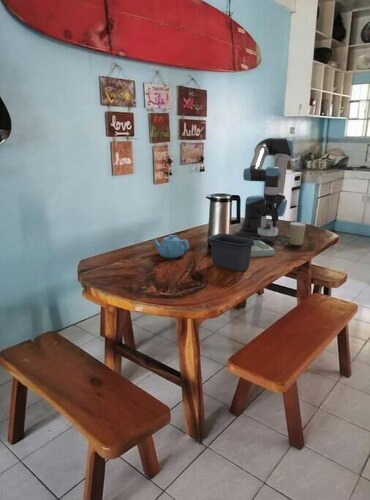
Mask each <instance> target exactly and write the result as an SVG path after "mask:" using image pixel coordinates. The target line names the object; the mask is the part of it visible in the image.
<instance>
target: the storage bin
mask: <svg viewBox="0 0 370 500" xmlns="http://www.w3.org/2000/svg"><path fill="white" fill-rule="evenodd" d="M254 241H255V239H254V238H249V237H243V236H239V235H235V234H231V233H223V232H221V233H216V234H213V235H209V236H208V242H209V243H210V245H211V246H210V247H211V248H210V249H211V250H210V251H211V260H212V261H211V264H212V265H213V266H216V267H219V268H225V269H227V270H228V269H229V270H231V271H235V272H242V271H245V270H247V269H248V268H249V267H250V260H251V257H250V254H251V248H252V246H253V245H254Z"/></svg>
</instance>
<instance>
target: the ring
mask: <svg viewBox="0 0 370 500" xmlns="http://www.w3.org/2000/svg"><path fill="white" fill-rule="evenodd" d="M270 231H271V227H270V230H268V229H266V226H260V227H259V228H258V232H257V234H258V235H259V236H261V235H262V236H274V237H277V235H279V228H278V227H276V230H275V232H270Z"/></svg>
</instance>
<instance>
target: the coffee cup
mask: <svg viewBox="0 0 370 500" xmlns="http://www.w3.org/2000/svg"><path fill="white" fill-rule="evenodd" d="M306 228H307V225H306V223H304V222H296V221H294V222H290V224H289V234H288V235H289V239H288V241H289V244H290V245H292V246H293V245H295V246H301V245H303V243H304V238H305V233H306Z"/></svg>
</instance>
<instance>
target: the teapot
mask: <svg viewBox="0 0 370 500" xmlns="http://www.w3.org/2000/svg"><path fill="white" fill-rule="evenodd" d="M152 241H153V244H154V247H155V248H156V251H157V252H158V254H159V255H160V256H161V257H162V258H167V259H177V258H180V257H182V256H183V254H184V253H186V251H187V250H189V249H190V245H189V242H188V239H180V238H179V237H177V234H174V235H173V234H170V235H168V236H166V237H163V238H162V240H161V242H158V240H157V238H152ZM183 243H184V244H183Z"/></svg>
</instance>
